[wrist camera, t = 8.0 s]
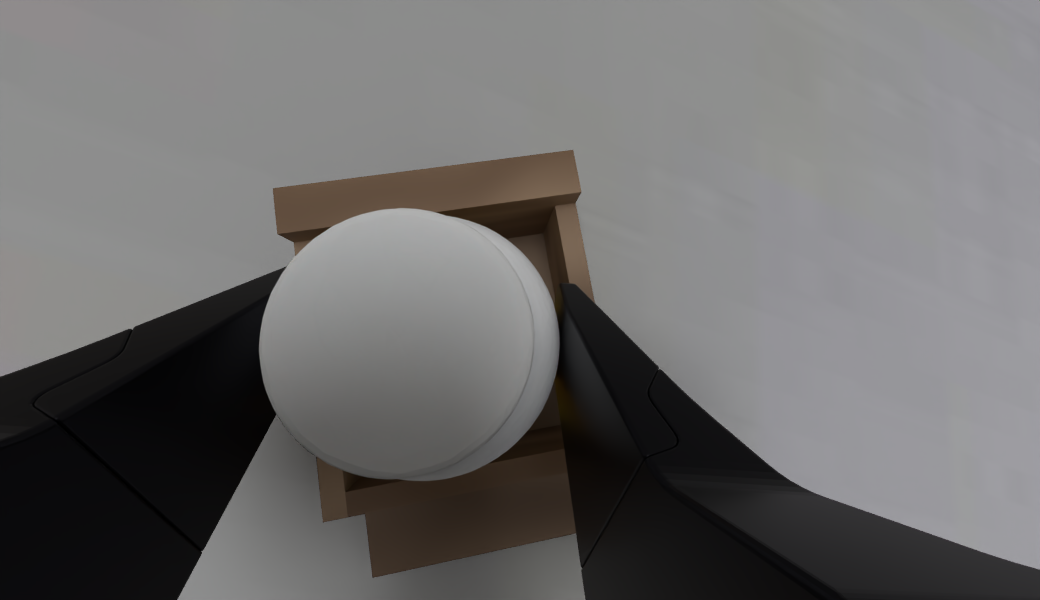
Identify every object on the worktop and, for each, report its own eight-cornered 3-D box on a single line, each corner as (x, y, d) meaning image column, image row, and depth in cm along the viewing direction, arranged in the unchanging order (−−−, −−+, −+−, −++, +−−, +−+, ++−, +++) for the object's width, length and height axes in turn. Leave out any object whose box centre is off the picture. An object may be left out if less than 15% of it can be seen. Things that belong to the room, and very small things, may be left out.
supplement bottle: (555, 349, 16) (668, 351, 5) (456, 443, 15) (371, 648, 5) (469, 254, 16) (421, 86, 6) (366, 340, 15) (104, 324, 5)
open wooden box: (607, 514, 17) (660, 594, 12) (380, 563, 16) (320, 674, 11) (550, 206, 19) (572, 149, 13) (341, 236, 18) (272, 188, 12)
